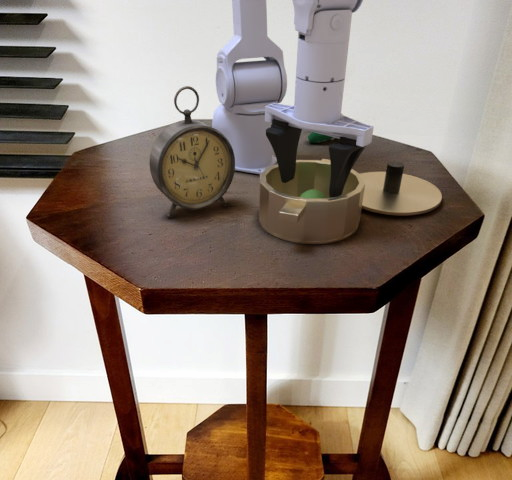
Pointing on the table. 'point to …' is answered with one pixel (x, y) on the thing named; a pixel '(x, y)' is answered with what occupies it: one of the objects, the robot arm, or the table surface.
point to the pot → (309, 204)
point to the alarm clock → (192, 162)
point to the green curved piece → (318, 137)
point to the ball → (313, 194)
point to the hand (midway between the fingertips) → (311, 187)
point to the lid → (398, 192)
